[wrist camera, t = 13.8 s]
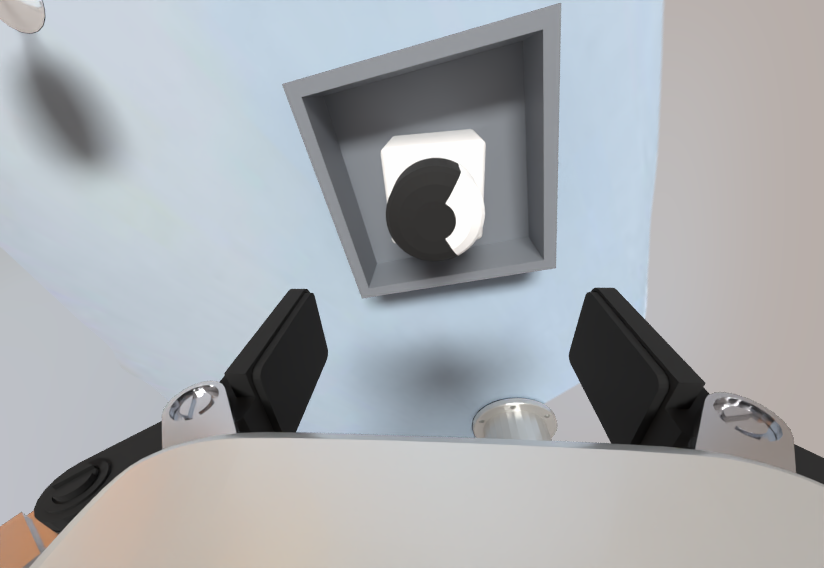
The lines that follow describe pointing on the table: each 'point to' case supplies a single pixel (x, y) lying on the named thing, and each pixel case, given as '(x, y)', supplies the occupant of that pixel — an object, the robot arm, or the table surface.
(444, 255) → the medicine bottle
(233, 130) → the table surface
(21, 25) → the wineglass
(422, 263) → the bin
